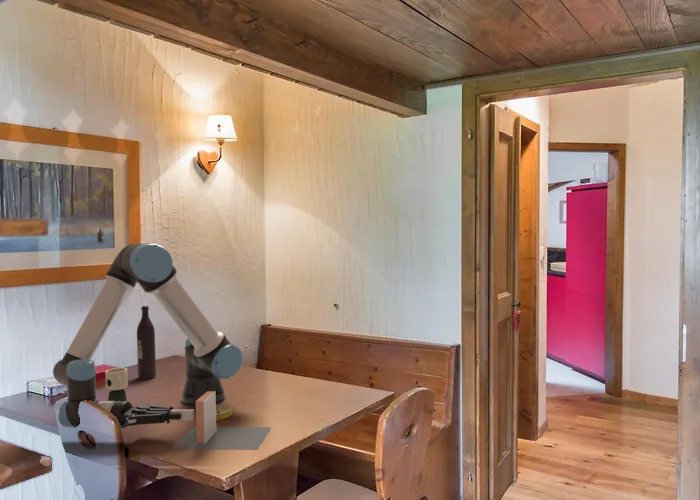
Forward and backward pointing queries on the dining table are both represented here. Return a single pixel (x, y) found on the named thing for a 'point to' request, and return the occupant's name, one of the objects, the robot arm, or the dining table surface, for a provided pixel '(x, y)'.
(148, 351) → the wine bottle
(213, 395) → the terracotta tile
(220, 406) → the decorated donut
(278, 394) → the dining table surface
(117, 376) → the character mug
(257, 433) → the slate mat
